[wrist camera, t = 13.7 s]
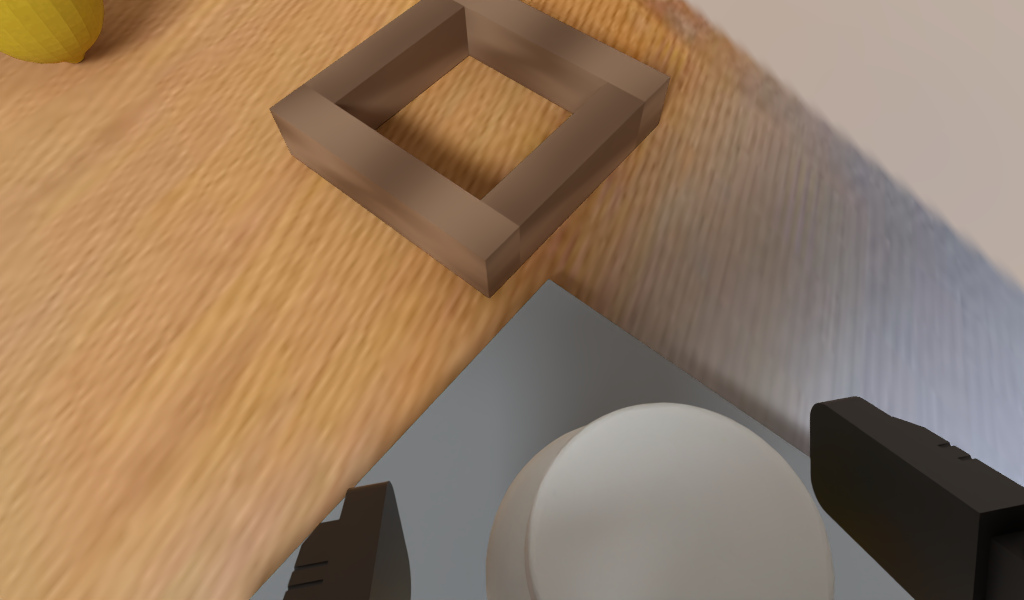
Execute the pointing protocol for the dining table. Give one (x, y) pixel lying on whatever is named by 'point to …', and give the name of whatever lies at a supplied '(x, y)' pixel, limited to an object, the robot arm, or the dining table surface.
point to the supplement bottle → (659, 516)
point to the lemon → (49, 29)
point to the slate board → (541, 443)
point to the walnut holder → (429, 195)
